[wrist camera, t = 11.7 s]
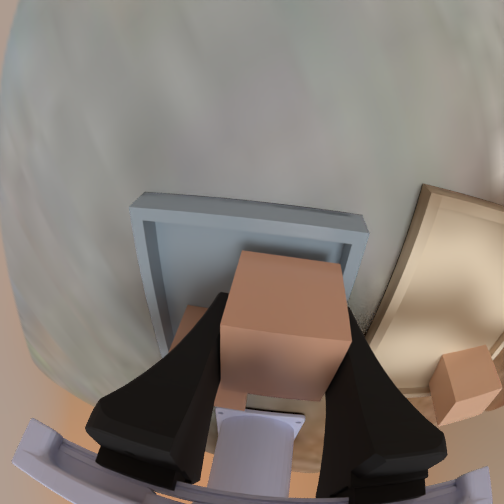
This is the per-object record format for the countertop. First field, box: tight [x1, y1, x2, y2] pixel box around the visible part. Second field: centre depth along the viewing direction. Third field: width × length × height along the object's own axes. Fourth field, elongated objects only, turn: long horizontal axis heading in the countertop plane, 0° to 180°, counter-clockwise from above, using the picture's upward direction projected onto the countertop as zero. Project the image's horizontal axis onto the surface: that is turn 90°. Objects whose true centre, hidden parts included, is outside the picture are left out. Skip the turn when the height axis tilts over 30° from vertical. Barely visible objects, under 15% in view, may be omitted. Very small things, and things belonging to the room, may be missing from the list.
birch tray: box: [365, 184, 504, 398], centre depth 15 cm, size 16×12×1 cm
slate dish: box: [129, 192, 369, 358], centre depth 16 cm, size 12×10×2 cm
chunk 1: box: [168, 305, 248, 411], centre depth 16 cm, size 4×4×4 cm
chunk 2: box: [220, 250, 352, 401], centre depth 11 cm, size 4×4×4 cm
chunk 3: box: [429, 345, 503, 426], centre depth 16 cm, size 4×4×4 cm
